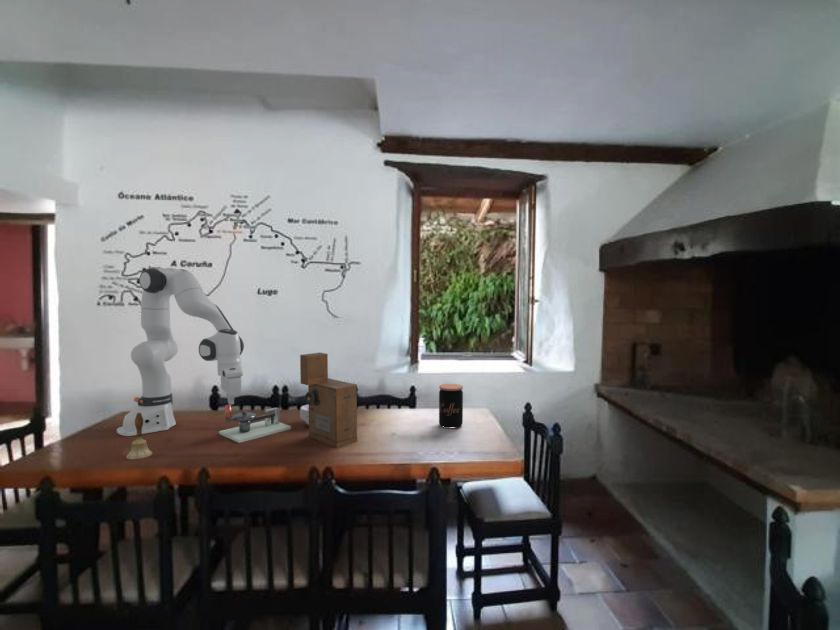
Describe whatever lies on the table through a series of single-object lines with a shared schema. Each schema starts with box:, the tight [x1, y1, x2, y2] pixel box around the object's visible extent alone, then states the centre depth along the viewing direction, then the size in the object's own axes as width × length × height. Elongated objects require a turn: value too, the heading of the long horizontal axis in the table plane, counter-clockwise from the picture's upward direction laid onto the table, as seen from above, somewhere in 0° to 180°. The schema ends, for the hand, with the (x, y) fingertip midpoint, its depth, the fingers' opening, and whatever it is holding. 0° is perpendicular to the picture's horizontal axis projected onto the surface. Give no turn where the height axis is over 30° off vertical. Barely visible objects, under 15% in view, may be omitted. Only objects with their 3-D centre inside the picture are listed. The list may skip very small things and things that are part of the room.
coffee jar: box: [438, 383, 464, 428], centre depth 205 cm, size 11×11×18 cm
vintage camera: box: [299, 352, 358, 449], centre depth 184 cm, size 19×14×35 cm
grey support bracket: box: [264, 406, 281, 426], centre depth 202 cm, size 6×2×7 cm, turn 139°
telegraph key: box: [224, 404, 275, 432], centre depth 194 cm, size 22×9×12 cm, turn 139°
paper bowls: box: [299, 404, 309, 426], centre depth 208 cm, size 15×15×8 cm
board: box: [218, 410, 292, 444], centre depth 196 cm, size 24×17×10 cm
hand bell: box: [126, 413, 153, 461], centre depth 167 cm, size 8×8×16 cm
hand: (231, 403), depth 183 cm, fingers closed
